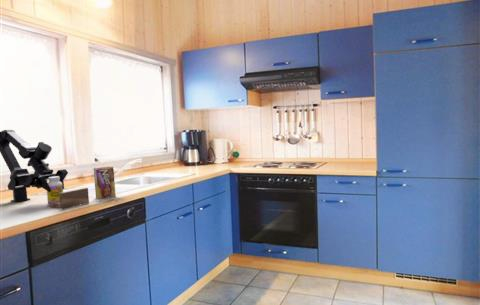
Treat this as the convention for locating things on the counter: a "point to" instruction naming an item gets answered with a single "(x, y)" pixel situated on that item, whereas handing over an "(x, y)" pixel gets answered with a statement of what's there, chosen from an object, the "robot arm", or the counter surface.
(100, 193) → the candy box
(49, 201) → the supplement bottle
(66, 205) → the brown rectangular box
